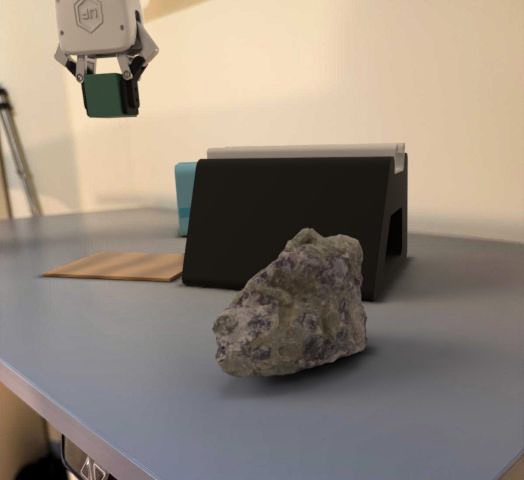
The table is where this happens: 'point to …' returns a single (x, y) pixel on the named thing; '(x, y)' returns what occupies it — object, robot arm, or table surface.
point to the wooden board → (123, 266)
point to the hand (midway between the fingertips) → (113, 114)
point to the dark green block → (104, 95)
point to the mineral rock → (296, 310)
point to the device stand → (296, 208)
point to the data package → (184, 192)
